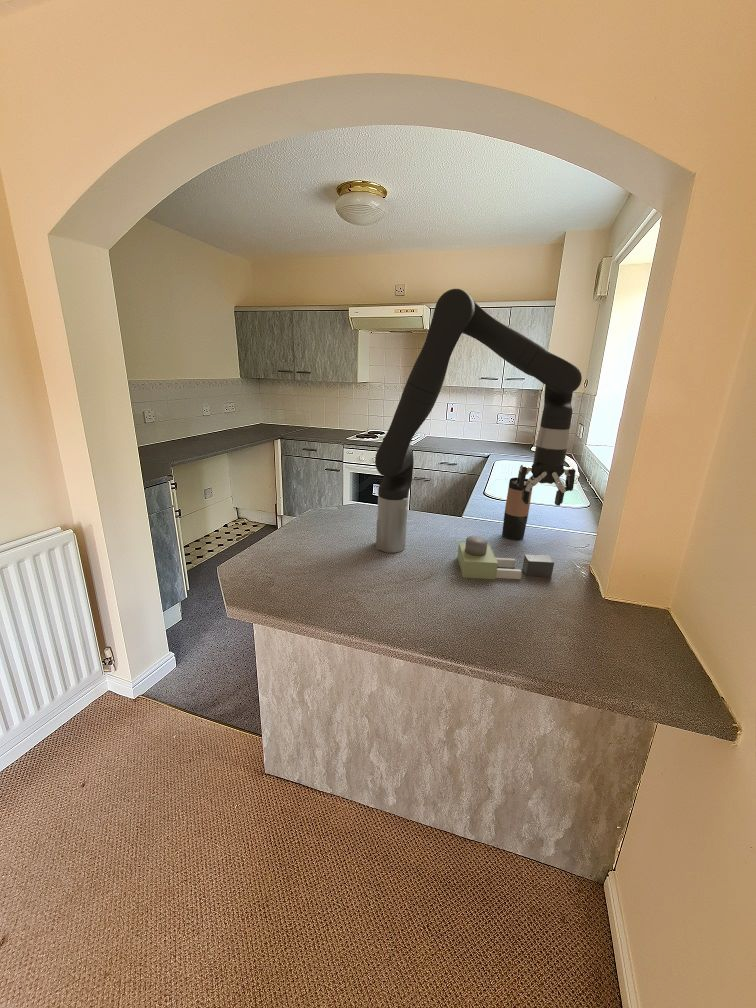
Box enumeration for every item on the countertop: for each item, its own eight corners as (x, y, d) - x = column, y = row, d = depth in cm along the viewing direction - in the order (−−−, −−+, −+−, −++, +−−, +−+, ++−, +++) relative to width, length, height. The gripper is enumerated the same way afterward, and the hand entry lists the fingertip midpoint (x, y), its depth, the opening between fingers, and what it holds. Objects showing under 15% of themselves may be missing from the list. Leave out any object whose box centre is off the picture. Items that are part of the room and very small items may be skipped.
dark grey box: (525, 577, 115) (528, 561, 113) (521, 570, 118) (524, 554, 117) (551, 578, 114) (554, 562, 113) (546, 571, 118) (549, 555, 117)
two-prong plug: (462, 577, 113) (466, 549, 110) (457, 557, 124) (460, 531, 121) (521, 580, 112) (526, 552, 110) (510, 560, 124) (514, 534, 121)
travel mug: (521, 532, 145) (530, 478, 138) (526, 541, 137) (536, 484, 131) (499, 530, 145) (507, 476, 138) (503, 539, 138) (512, 483, 131)
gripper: (528, 446, 102) (518, 507, 108) (585, 449, 102) (573, 510, 107) (519, 441, 109) (511, 498, 115) (573, 443, 109) (562, 500, 114)
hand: (541, 504), depth 111 cm, fingers open, 8 cm apart
